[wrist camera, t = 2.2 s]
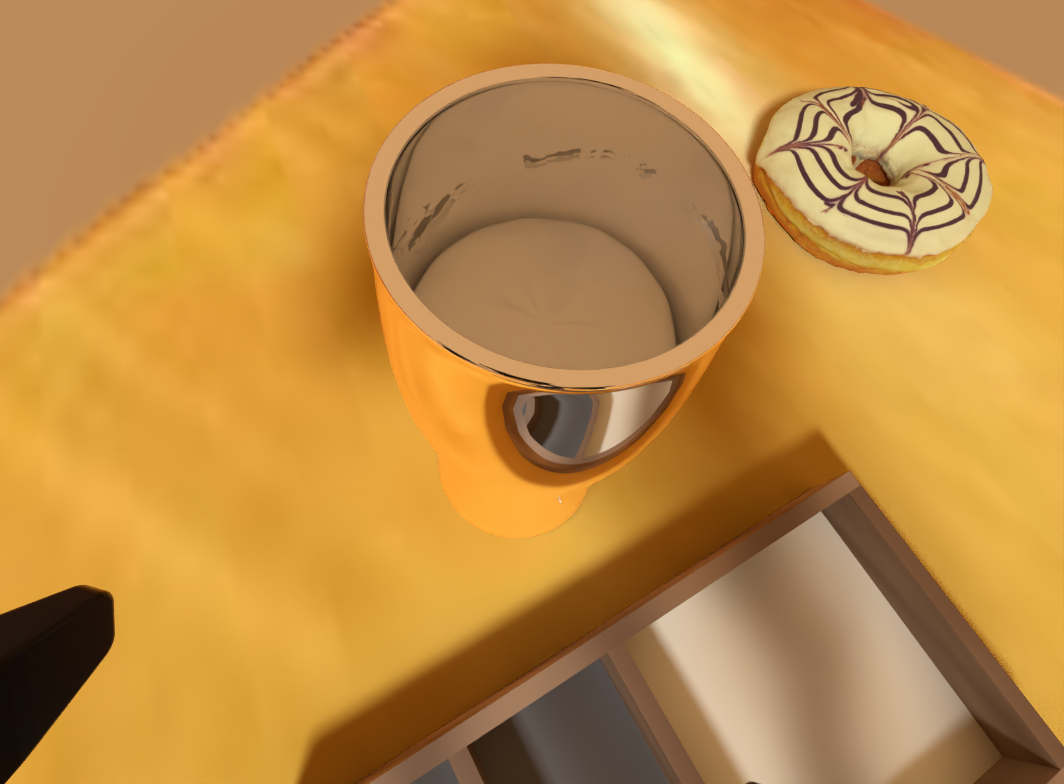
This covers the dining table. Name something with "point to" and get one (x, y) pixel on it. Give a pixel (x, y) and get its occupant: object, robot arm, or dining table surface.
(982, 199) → the decorated donut
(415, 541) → the dining table surface
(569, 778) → the box
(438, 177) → the metal cup
